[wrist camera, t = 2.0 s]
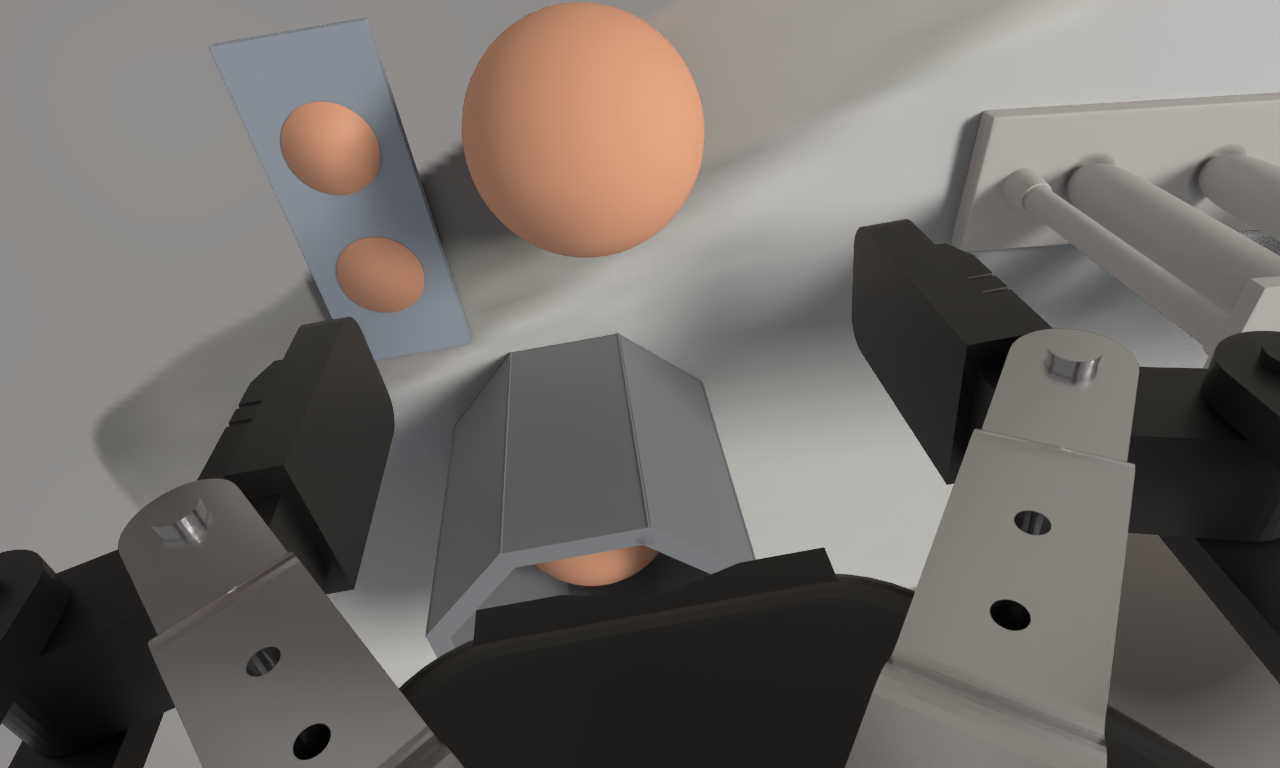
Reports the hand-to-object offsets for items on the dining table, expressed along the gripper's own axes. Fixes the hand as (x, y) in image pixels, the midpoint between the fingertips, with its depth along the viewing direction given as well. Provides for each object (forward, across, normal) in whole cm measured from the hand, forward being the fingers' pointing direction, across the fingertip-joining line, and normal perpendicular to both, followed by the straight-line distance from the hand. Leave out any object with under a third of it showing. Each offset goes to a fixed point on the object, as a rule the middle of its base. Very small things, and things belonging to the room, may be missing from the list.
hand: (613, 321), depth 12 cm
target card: (+12, +7, +2) cm, 14 cm away
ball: (+8, 0, 0) cm, 9 cm away
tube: (+12, +2, +12) cm, 17 cm away
